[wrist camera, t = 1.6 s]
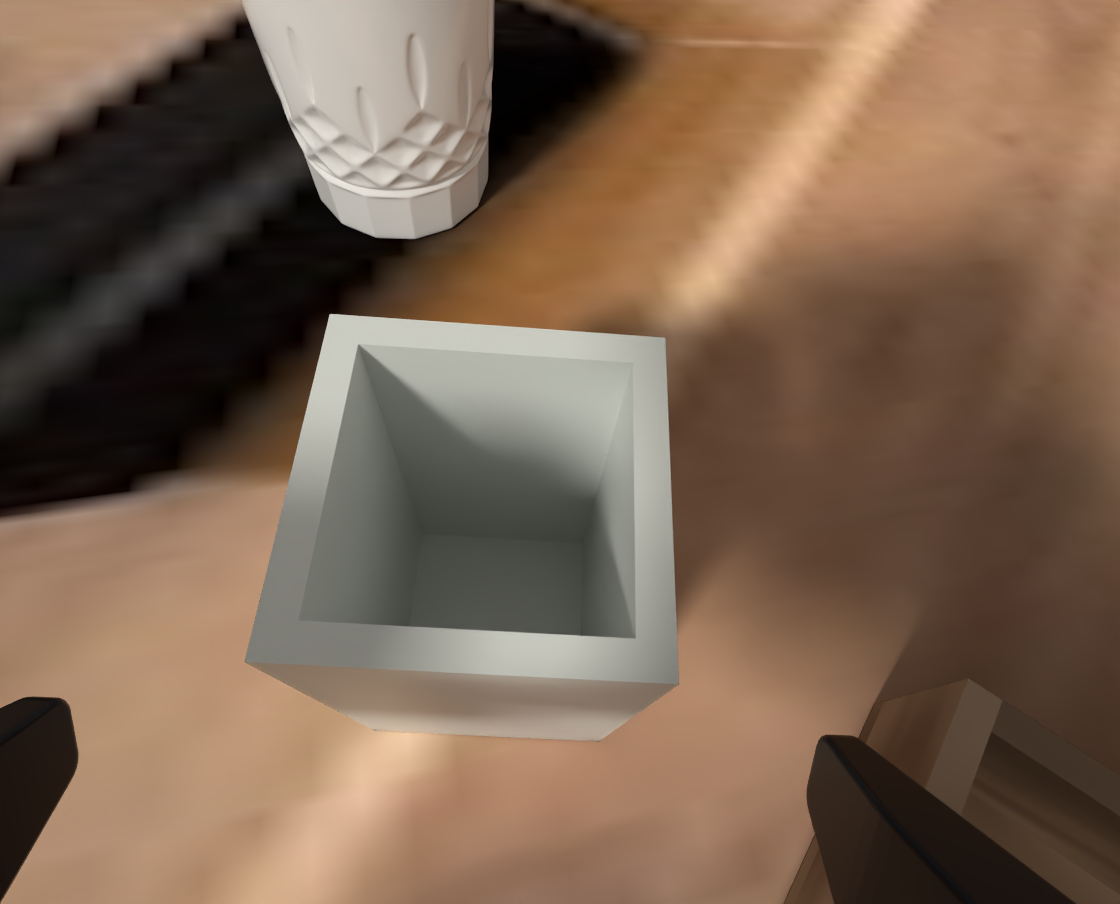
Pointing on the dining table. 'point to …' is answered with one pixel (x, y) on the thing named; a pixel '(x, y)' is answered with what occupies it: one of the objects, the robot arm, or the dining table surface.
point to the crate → (999, 787)
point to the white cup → (385, 104)
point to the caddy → (477, 532)
